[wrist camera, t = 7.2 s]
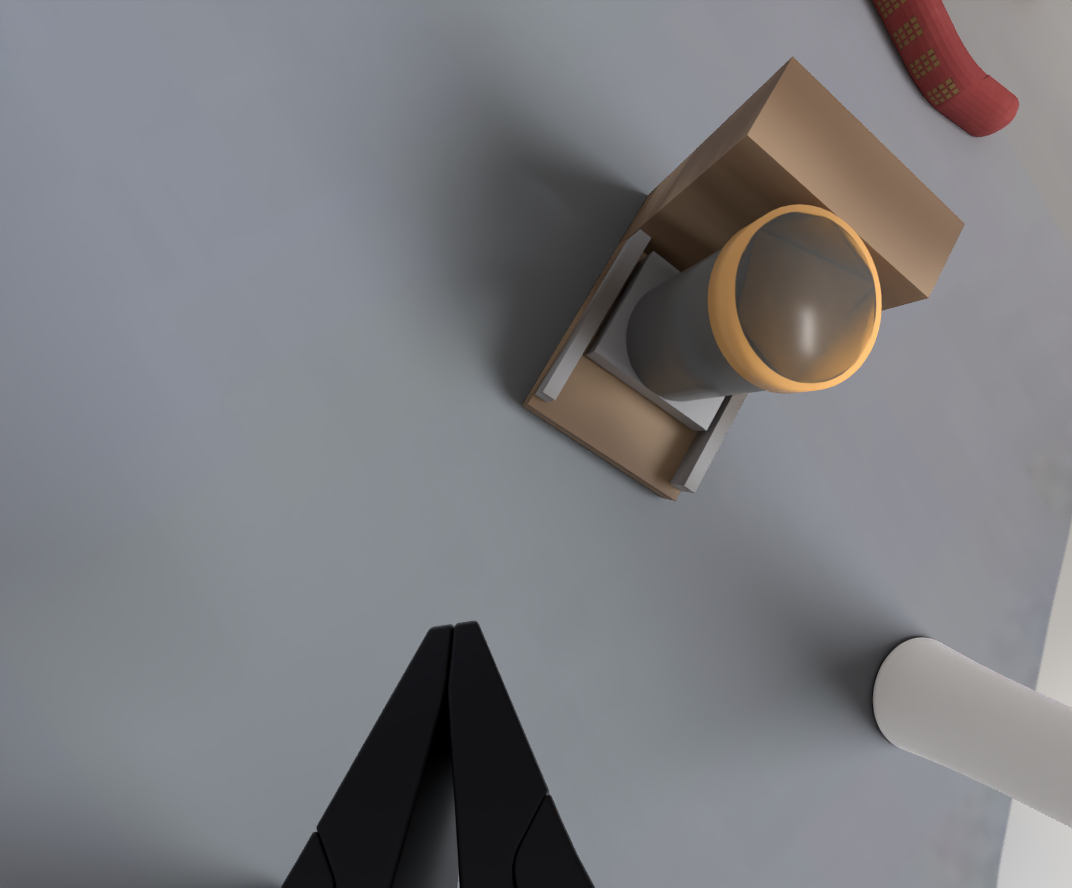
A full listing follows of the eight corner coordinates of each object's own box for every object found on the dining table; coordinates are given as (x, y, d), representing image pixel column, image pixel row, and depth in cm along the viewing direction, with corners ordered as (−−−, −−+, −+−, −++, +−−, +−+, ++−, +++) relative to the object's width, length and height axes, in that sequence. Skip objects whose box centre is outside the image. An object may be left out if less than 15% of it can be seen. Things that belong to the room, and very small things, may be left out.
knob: (691, 434, 23) (840, 430, 16) (583, 359, 22) (687, 314, 14) (746, 334, 24) (913, 283, 16) (644, 255, 23) (775, 159, 15)
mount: (664, 498, 24) (815, 529, 16) (521, 405, 23) (603, 382, 14) (773, 296, 26) (964, 223, 17) (648, 195, 24) (792, 56, 16)
